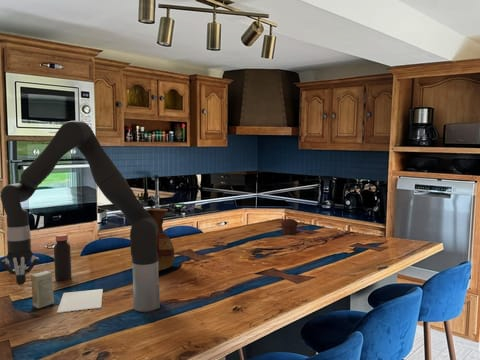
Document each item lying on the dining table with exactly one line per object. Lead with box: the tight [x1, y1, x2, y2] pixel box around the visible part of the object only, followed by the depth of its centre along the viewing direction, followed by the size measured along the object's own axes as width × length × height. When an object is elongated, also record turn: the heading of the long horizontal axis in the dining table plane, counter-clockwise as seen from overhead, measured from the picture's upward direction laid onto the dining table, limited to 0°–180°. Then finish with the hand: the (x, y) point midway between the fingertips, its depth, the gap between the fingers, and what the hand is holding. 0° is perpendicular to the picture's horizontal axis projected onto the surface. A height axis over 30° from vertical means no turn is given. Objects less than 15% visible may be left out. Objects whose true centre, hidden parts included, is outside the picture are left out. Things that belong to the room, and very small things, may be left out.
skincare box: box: [30, 270, 55, 309], centre depth 153 cm, size 6×4×12 cm
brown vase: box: [144, 207, 175, 272], centre depth 196 cm, size 20×20×30 cm
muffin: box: [280, 218, 299, 236], centre depth 274 cm, size 12×11×10 cm
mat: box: [56, 288, 104, 314], centre depth 158 cm, size 15×20×1 cm
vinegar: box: [53, 233, 72, 282], centre depth 183 cm, size 7×7×20 cm
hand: (21, 284), depth 151 cm, fingers closed
